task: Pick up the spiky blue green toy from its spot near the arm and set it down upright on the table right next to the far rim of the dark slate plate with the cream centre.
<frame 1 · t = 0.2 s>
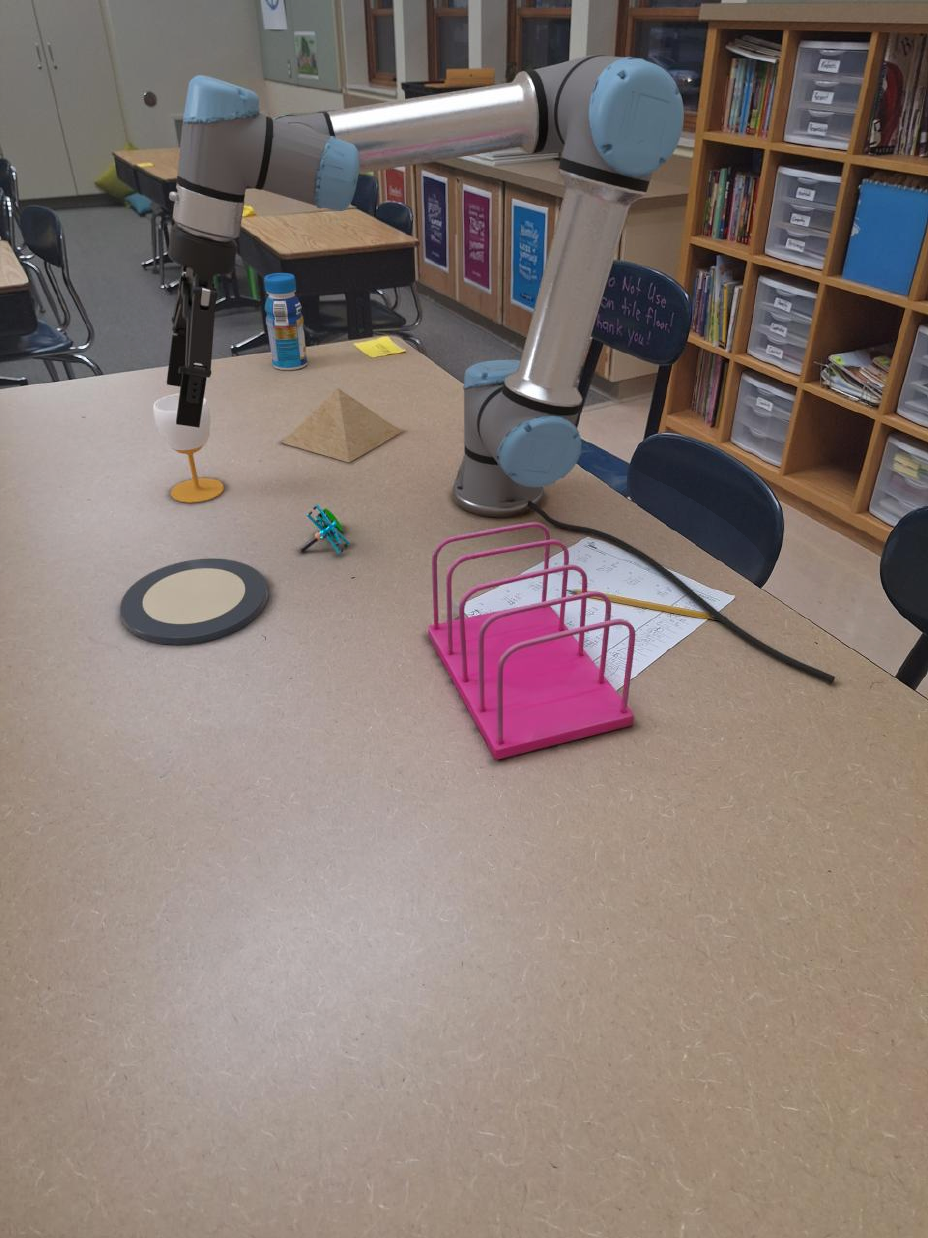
hand: (182, 404, 110), 27 cm above the table, tool tilted 20°, fingers open, 13 cm apart
file sorter: (523, 679, 108), on the table
cup: (197, 491, 150), on the table
model pyramid: (343, 437, 168), on the table
spiky blue green toy: (323, 544, 135), on the table
plate: (196, 602, 122), on the table
beverage bottle: (290, 366, 202), on the table
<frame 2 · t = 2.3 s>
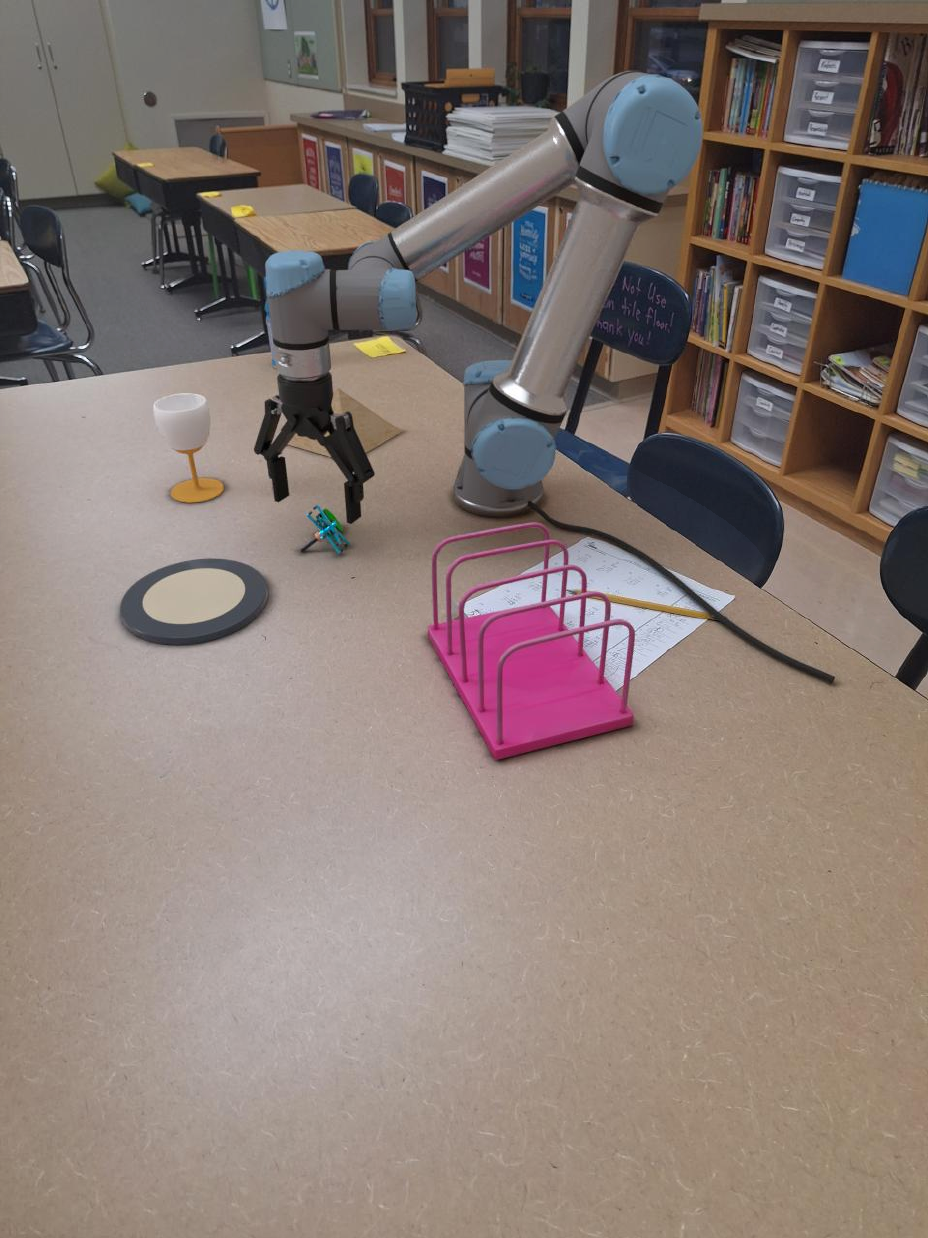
hand: (317, 509, 131), 6 cm above the table, tool pointing down, fingers open, 13 cm apart
nothing on the table moved.
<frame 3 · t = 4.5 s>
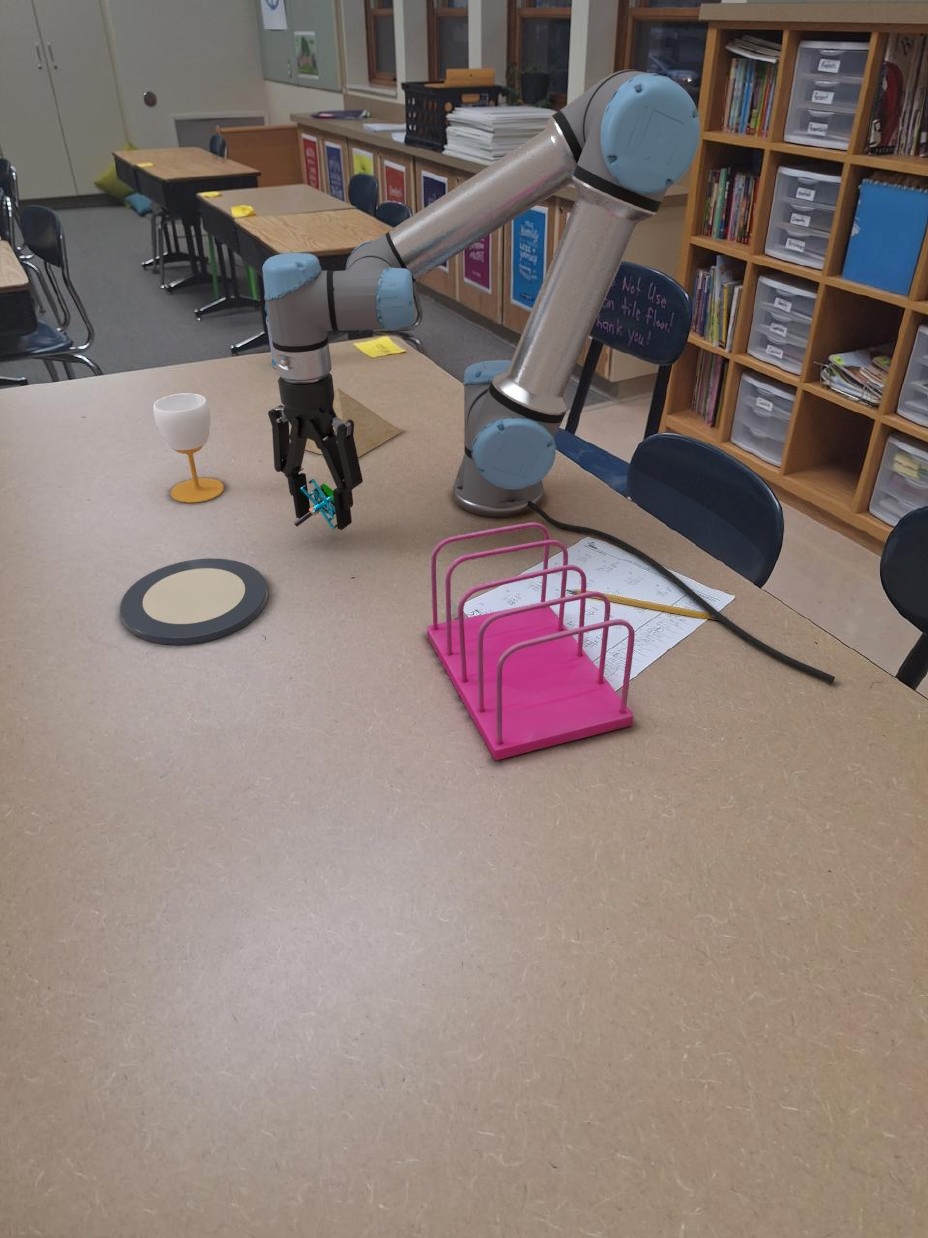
hand: (323, 519, 133), 4 cm above the table, tool pointing down, fingers closed on spiky blue green toy, 7 cm apart
spiky blue green toy: (319, 519, 134), point 4 cm above the table, touching gripper
everything else where it was.
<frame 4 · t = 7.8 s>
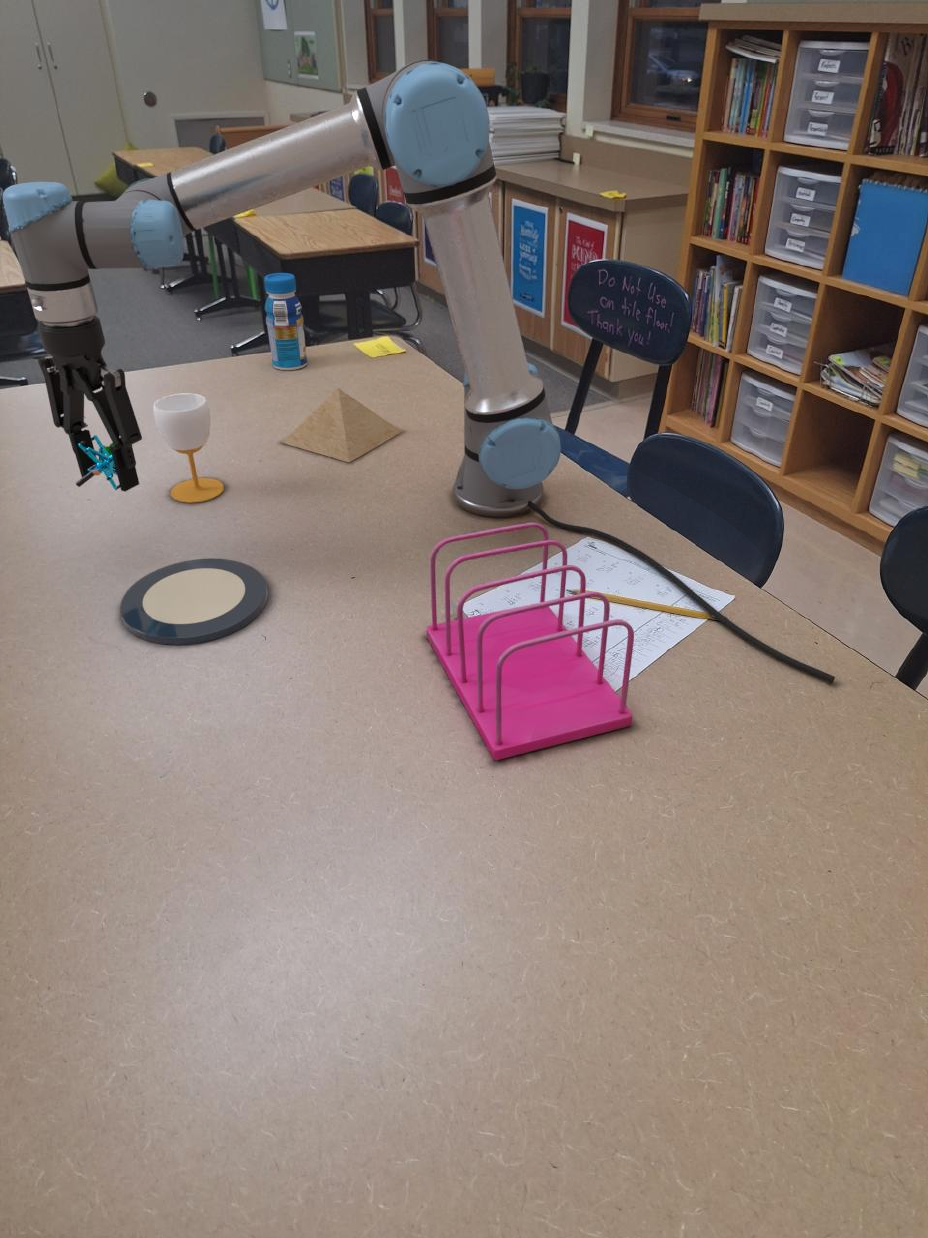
hand: (110, 480, 123), 13 cm above the table, tool pointing down, fingers closed on spiky blue green toy, 7 cm apart
spiky blue green toy: (107, 480, 124), point 13 cm above the table, touching gripper
everything else where it was.
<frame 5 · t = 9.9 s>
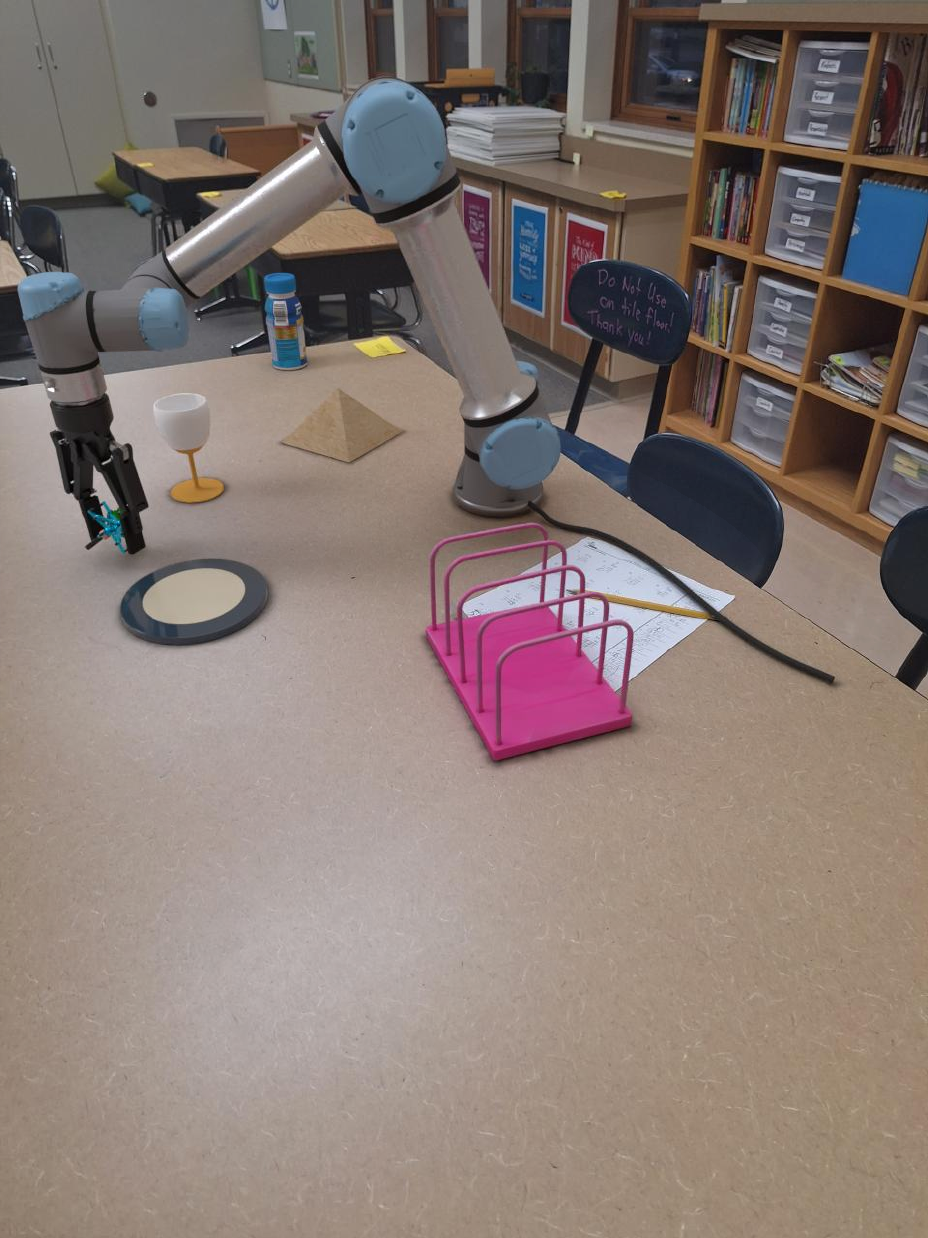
hand: (118, 543, 129), 3 cm above the table, tool pointing down, fingers closed on spiky blue green toy, 7 cm apart
spiky blue green toy: (115, 542, 130), point 3 cm above the table, touching gripper
everything else where it was.
when the fingers open (0 cm above the table, at t = 11.3 s): spiky blue green toy stays where it is, on the table.
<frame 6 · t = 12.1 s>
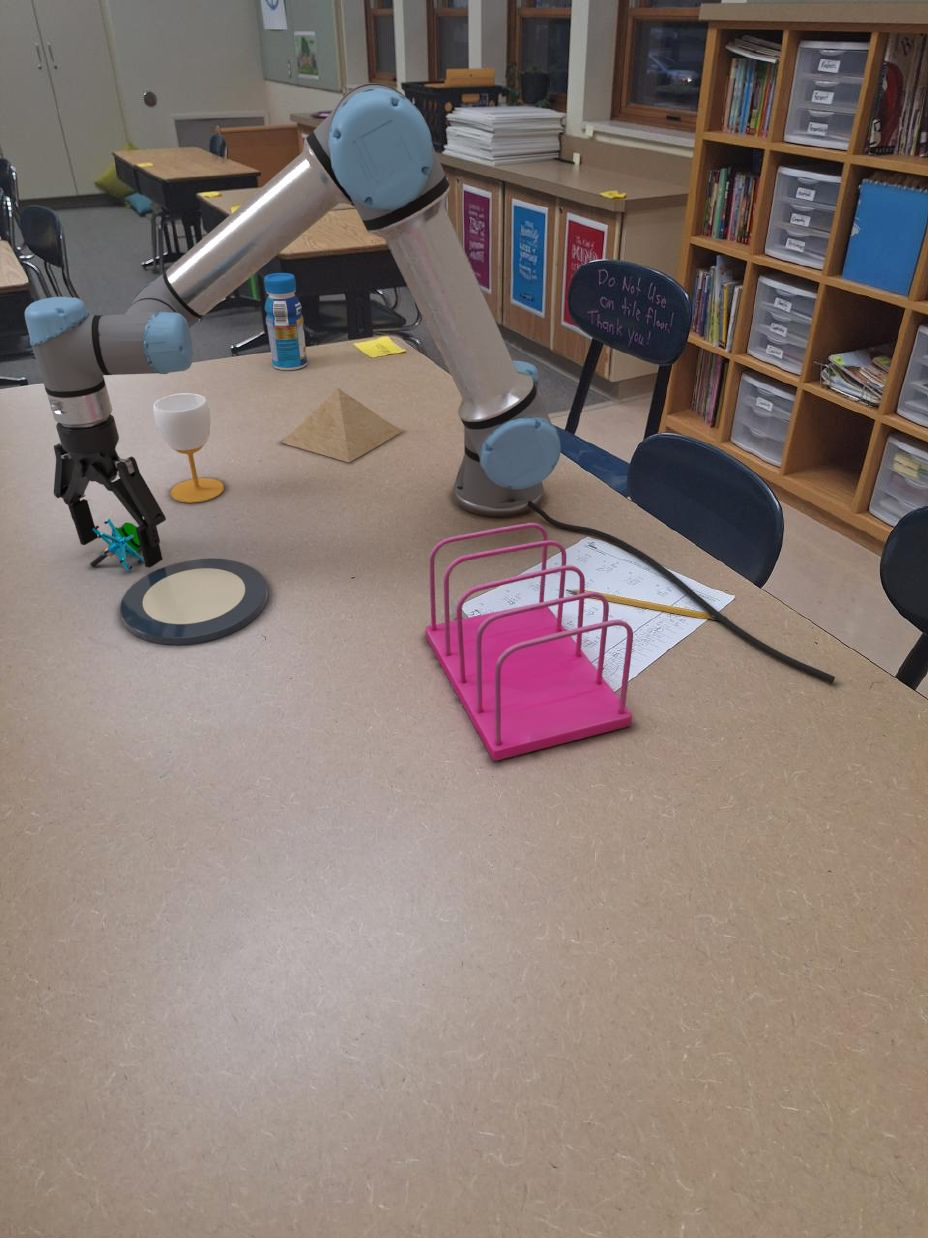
hand: (121, 552, 130), 2 cm above the table, tool pointing down, fingers open, 13 cm apart
spiky blue green toy: (120, 559, 132), on the table
everything else where it was.
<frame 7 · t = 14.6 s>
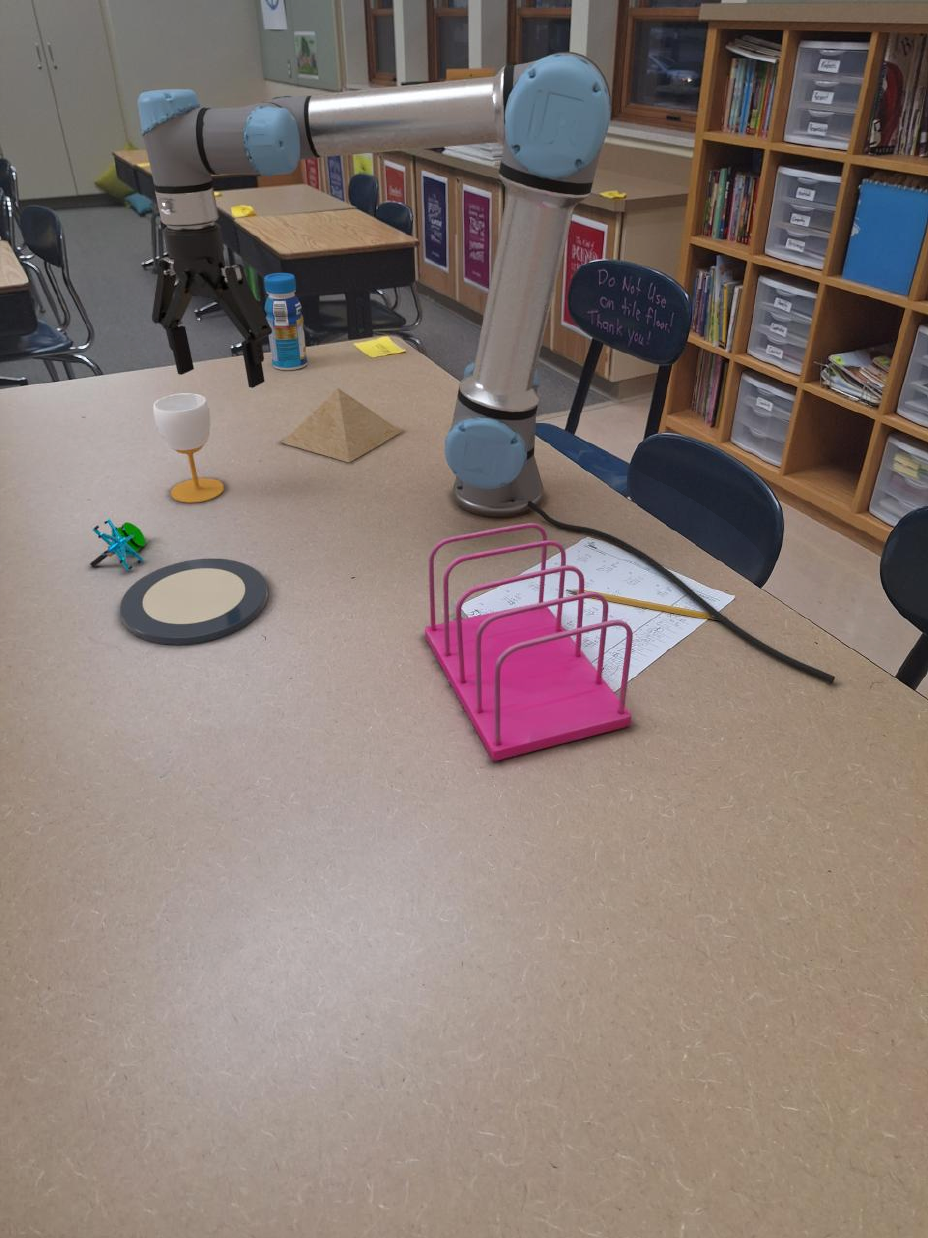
hand: (220, 378, 128), 24 cm above the table, tool pointing down, fingers open, 13 cm apart
nothing on the table moved.
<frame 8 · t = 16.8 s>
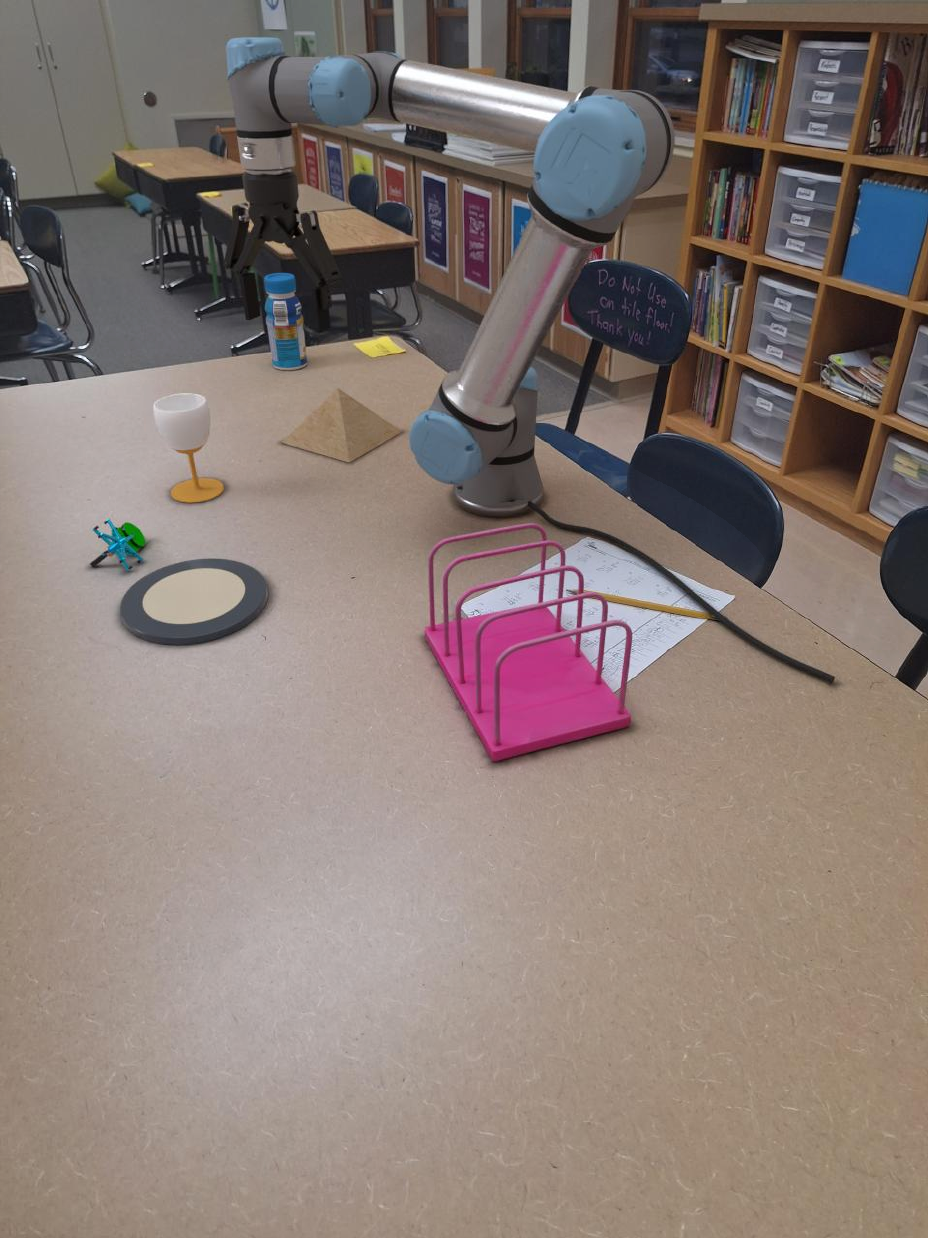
hand: (287, 324, 133), 29 cm above the table, tool pointing down, fingers open, 13 cm apart
nothing on the table moved.
at the end: spiky blue green toy inside the target area (1.5 cm from its centre), on the table; spiky blue green toy touching table; spiky blue green toy tilted 0° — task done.
